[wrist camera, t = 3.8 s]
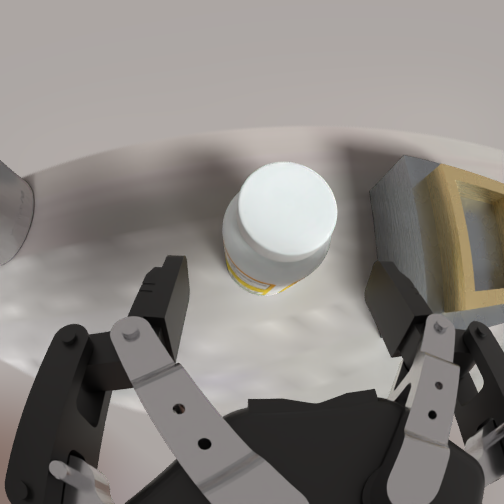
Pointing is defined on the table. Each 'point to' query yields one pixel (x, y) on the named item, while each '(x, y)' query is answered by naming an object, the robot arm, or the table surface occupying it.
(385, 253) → the gold-rimmed square tray
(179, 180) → the table surface
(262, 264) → the supplement bottle
